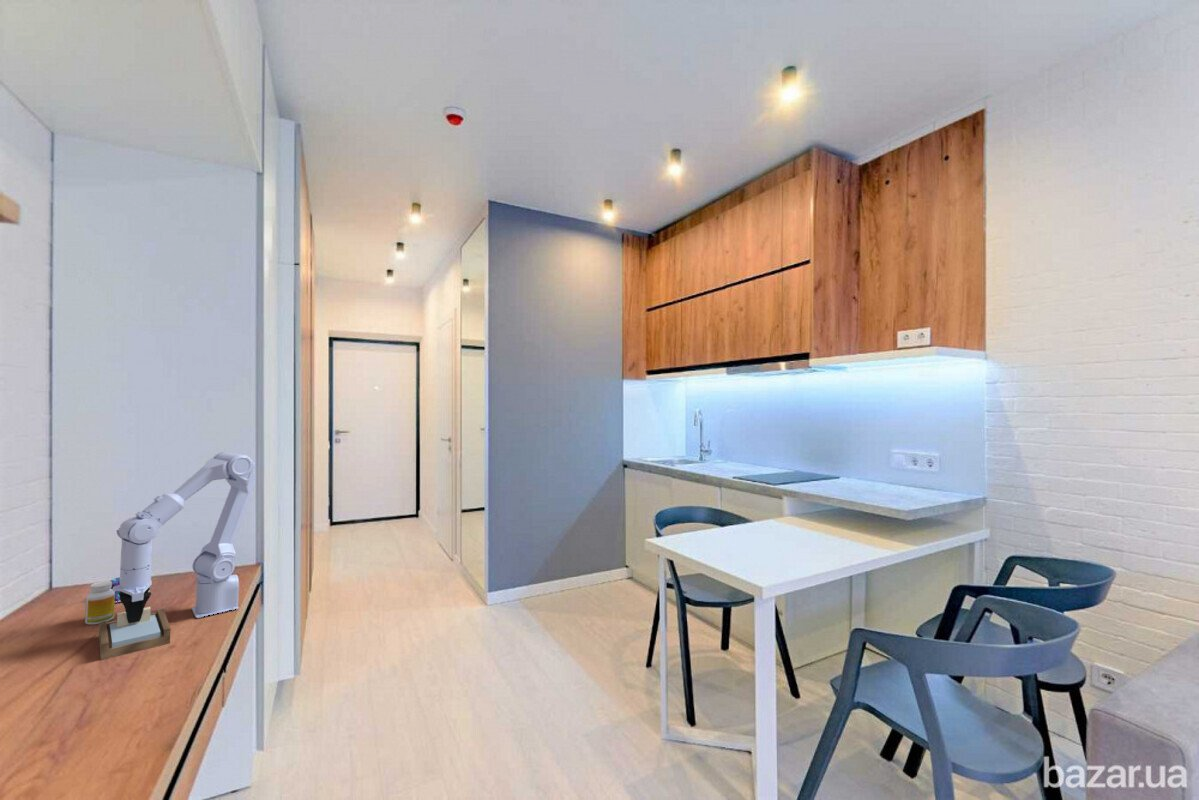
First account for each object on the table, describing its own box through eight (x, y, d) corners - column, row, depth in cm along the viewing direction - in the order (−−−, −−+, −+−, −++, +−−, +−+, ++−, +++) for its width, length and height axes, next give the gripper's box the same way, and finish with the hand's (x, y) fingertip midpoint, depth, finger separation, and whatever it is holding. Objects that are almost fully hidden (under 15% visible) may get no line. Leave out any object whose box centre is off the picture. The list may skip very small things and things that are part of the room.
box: (162, 622, 132) (163, 608, 132) (169, 643, 122) (170, 628, 122) (98, 636, 123) (99, 622, 123) (100, 660, 114) (101, 644, 114)
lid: (154, 619, 130) (155, 603, 130) (160, 636, 121) (161, 619, 121) (109, 629, 124) (110, 612, 123) (111, 648, 115) (112, 630, 115)
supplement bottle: (118, 619, 133) (119, 582, 132) (90, 627, 128) (92, 589, 128) (108, 614, 135) (109, 578, 135) (80, 621, 130) (82, 584, 130)
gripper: (112, 561, 127) (109, 614, 127) (115, 578, 117) (113, 636, 117) (149, 556, 132) (147, 607, 132) (155, 572, 122) (153, 627, 122)
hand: (133, 620), depth 125 cm, fingers closed on lid, 2 cm apart
